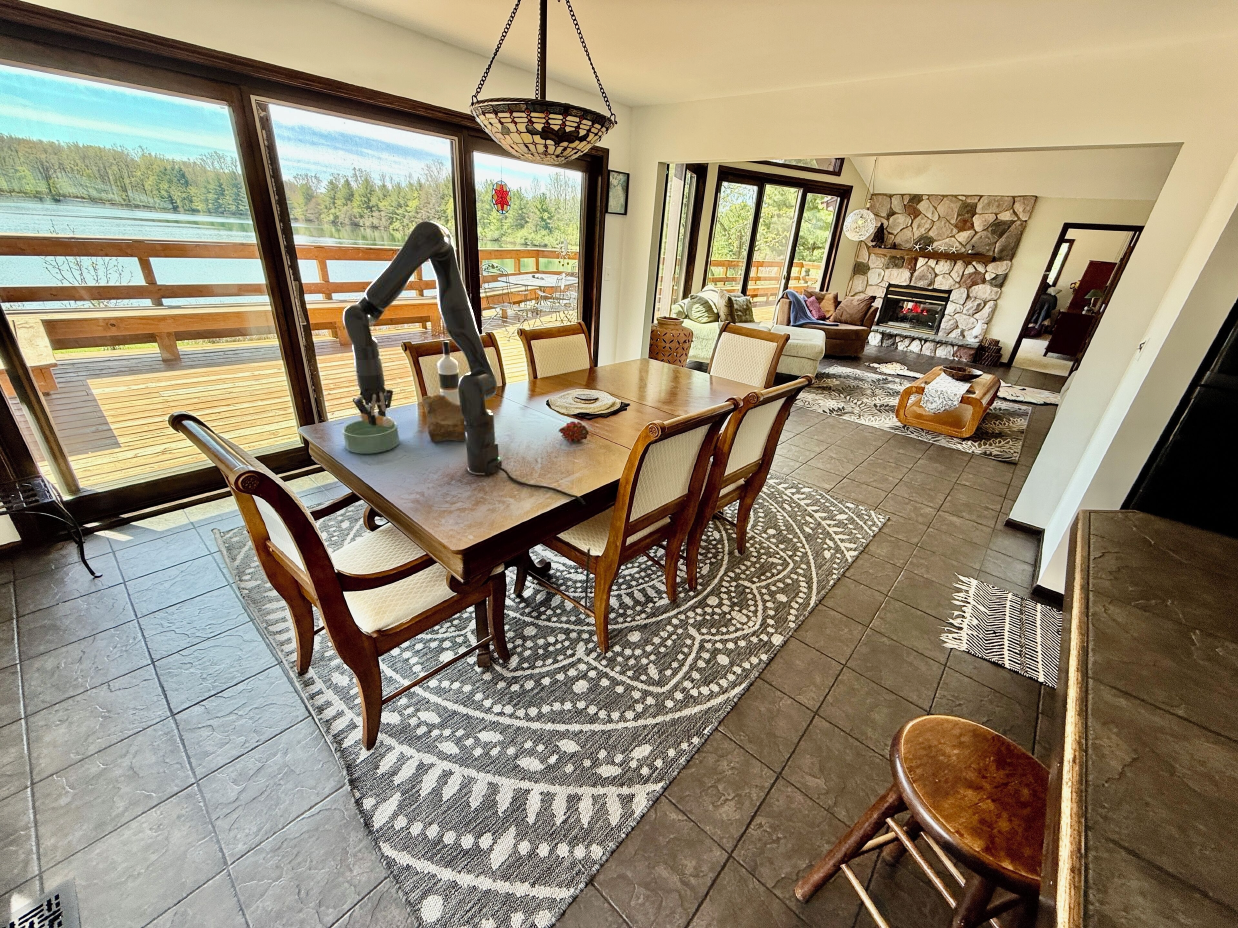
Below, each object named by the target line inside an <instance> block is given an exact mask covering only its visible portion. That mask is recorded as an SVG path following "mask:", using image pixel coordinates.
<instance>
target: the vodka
mask: <svg viewBox="0 0 1238 928" xmlns="http://www.w3.org/2000/svg"><path fill="white" fill-rule="evenodd" d="M441 343H442V353H443V357H442V358H441V359H439V360H438V362H437V363H436V368H437V373H438V382H439V383H438V384H439V392H440V395H444V396H446V397H447V398H448V399H449V400H450V401H451V402H453V403H456V404H458V405H460V402H459V395H458V382H459V380H460V375H459V374H460V373H459V371H460V370H459V363H458V361H457V360H455V359H454V358H453V357H451V349H450V341H449V340H443V341H442V342H441Z"/></svg>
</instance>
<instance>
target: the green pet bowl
mask: <svg viewBox="0 0 1238 928" xmlns="http://www.w3.org/2000/svg"><path fill="white" fill-rule="evenodd" d="M342 434H343V435H342V436H343V440H344V445H345V448H346V450H347V451H349V452H351V453H354V454H362V455H363V454H365V455H366V454H368V455H369V454H378V453H383V452H386V451H389V450H391V449H394V448H395V447H397V446H398V445H399V444H400V435H399V428H398V424H397V422H396V421H394V420H393V425H392V426H390V427H385V426H381V425H378V424H377V425H376V426H372V425H370V424H369V422H365V421H363V420H362V419H360V420H356V421H353V422H352V421H351V422H350V423H348V424H346V425H344V427H342Z"/></svg>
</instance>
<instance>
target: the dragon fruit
mask: <svg viewBox="0 0 1238 928" xmlns="http://www.w3.org/2000/svg"><path fill="white" fill-rule="evenodd" d="M558 433H560V434H561V435H560V436H561V437H562V439H564V440H565V439H567V440H568V441H570V443H571V444H572V443H575V441H576V443H580V442H581V441H584V440H586V439H588V435H589V430H588V428H587V426H585V425H584V424H583V423H582V422H581V421H569V422H567V423H566V425H564V426H562V427H561V428H559V429H558Z"/></svg>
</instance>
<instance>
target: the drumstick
mask: <svg viewBox="0 0 1238 928" xmlns="http://www.w3.org/2000/svg"><path fill="white" fill-rule="evenodd" d="M374 415H375V418H376V424H378V425H381V426H385V427H390V426H392V425H393V421H394V420H393V419H392V418H391V417H389V416H386V417H384V416H380V415H378V414H377V413H376V411H375V410H374ZM359 416H360V420H363V421H365V422H368V416H367V415H365V414H361V413H360V412H359Z"/></svg>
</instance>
